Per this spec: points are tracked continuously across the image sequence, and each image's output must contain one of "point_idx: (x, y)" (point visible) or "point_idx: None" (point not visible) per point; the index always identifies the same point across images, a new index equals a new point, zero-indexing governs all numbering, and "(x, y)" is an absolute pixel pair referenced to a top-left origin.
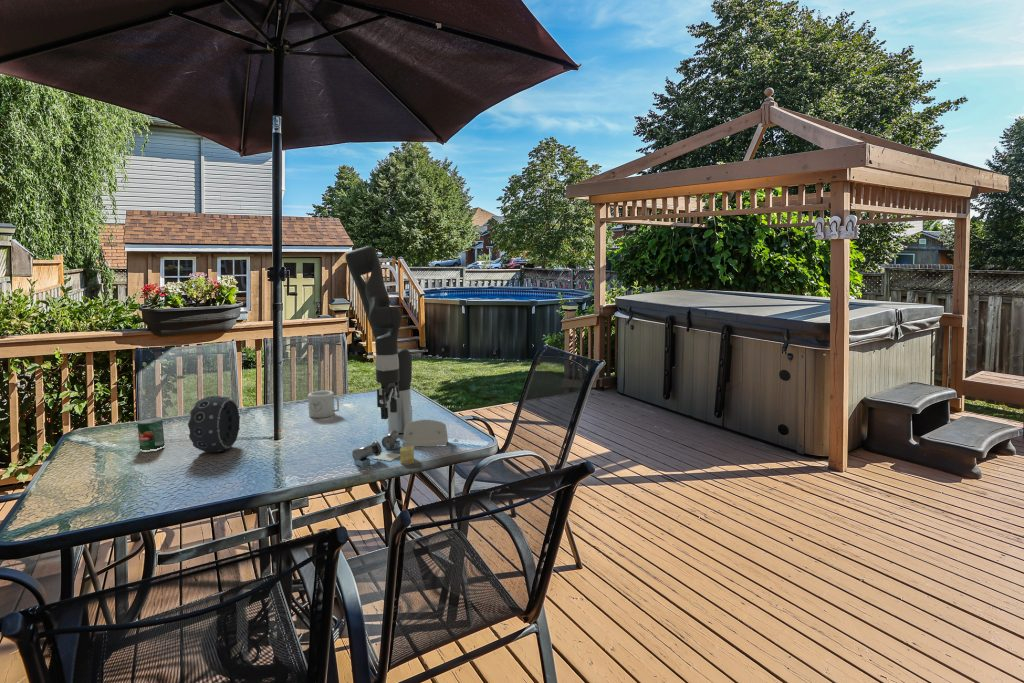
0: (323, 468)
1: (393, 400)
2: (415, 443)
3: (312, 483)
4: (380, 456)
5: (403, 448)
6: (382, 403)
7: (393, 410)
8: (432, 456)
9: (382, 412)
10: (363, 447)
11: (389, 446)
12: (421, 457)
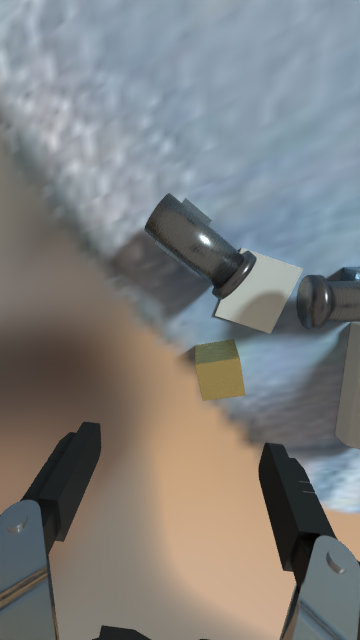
0: (140, 83)
1: (300, 571)
2: (355, 365)
3: (2, 110)
4: (255, 274)
5: (222, 370)
6: (39, 558)
7: (265, 469)
8: (252, 412)
9: (44, 475)
10: (188, 238)
11: (300, 301)
12: (246, 388)
